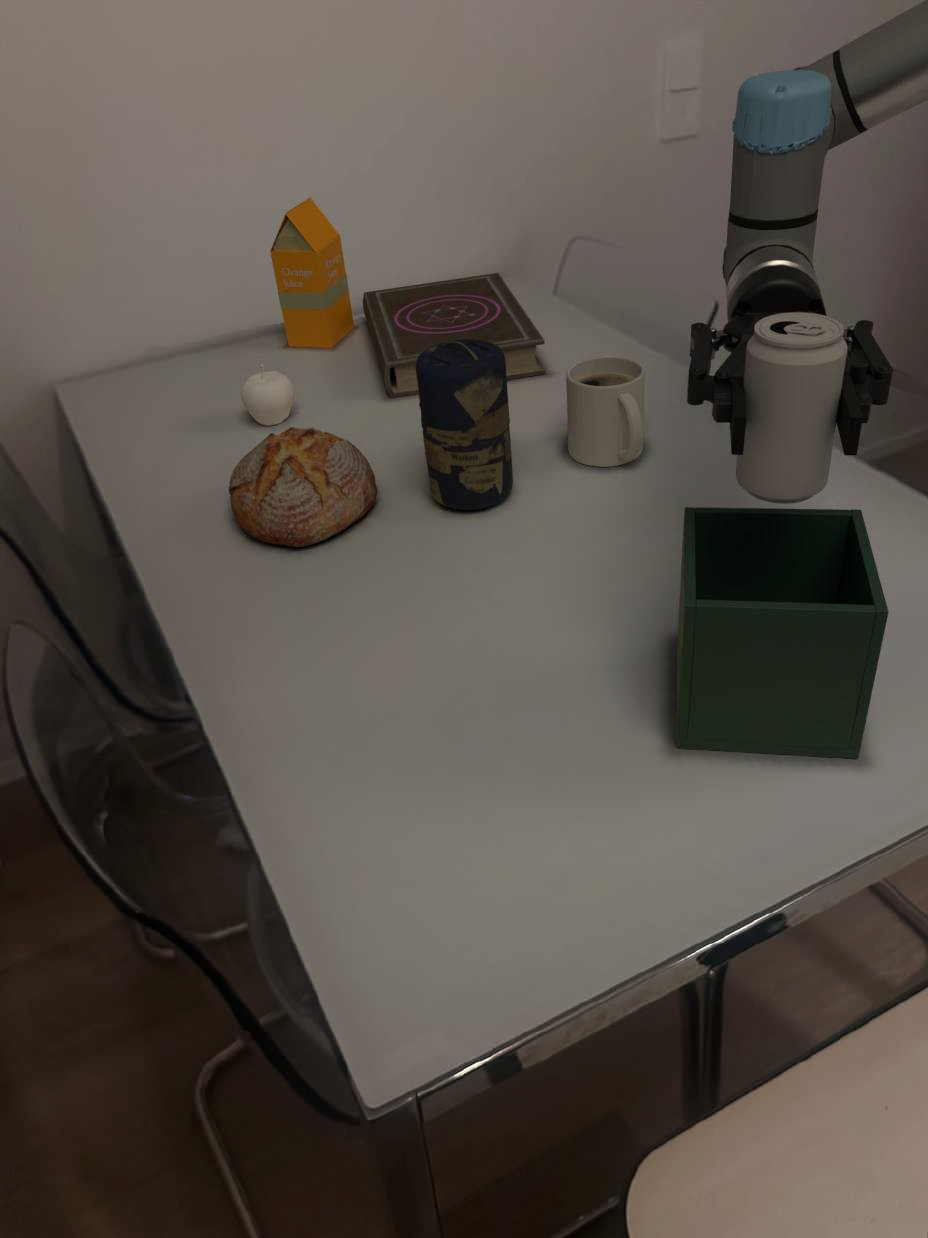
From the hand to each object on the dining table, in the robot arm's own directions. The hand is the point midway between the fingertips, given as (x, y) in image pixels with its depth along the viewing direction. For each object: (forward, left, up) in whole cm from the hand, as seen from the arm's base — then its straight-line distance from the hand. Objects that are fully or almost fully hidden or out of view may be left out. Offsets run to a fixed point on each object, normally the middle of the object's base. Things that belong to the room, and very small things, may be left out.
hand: (795, 436), depth 65 cm
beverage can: (+1, -5, -7) cm, 8 cm away
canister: (+34, -32, -26) cm, 53 cm away
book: (+51, -74, -26) cm, 93 cm away
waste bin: (0, -4, -26) cm, 26 cm away
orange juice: (+73, -76, -26) cm, 109 cm away
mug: (+21, -44, -26) cm, 55 cm away
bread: (+52, -26, -26) cm, 64 cm away
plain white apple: (+67, -47, -26) cm, 86 cm away
